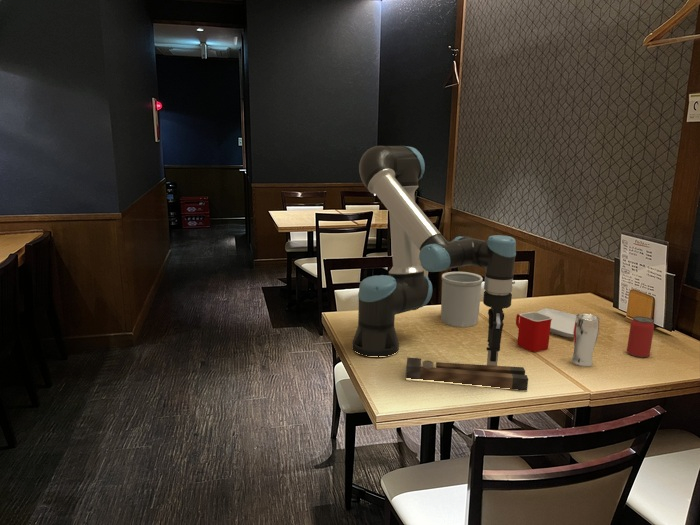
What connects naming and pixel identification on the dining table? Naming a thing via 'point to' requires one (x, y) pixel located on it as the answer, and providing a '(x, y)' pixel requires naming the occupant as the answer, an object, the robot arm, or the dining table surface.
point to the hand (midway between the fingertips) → (491, 369)
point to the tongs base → (464, 375)
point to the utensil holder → (460, 298)
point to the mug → (533, 331)
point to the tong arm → (482, 368)
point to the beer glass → (585, 338)
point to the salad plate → (560, 322)
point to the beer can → (640, 336)
